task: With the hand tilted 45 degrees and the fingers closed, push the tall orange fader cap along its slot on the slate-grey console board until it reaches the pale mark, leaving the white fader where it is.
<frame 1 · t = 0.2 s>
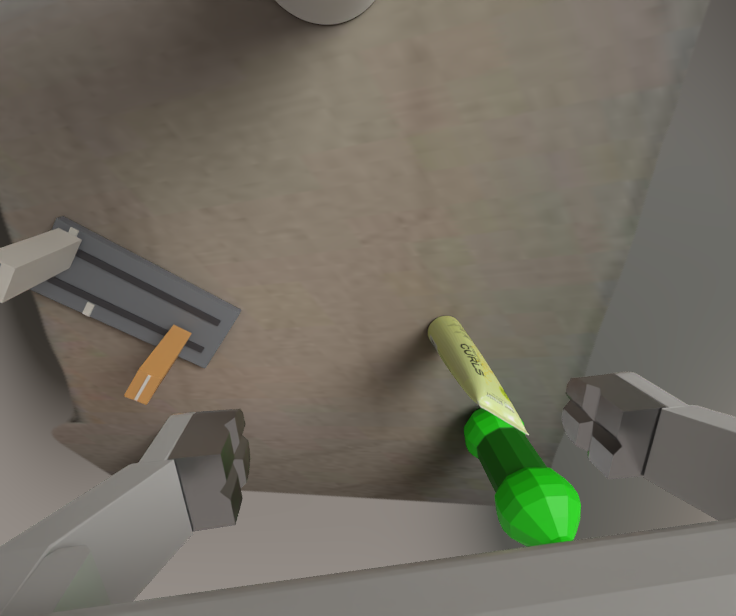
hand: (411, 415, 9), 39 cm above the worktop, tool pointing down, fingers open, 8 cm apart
tube: (443, 329, 54), on the worktop
fader orange: (161, 361, 43), point 7 cm above the worktop, slide at 0.0 cm
fader white: (32, 262, 37), point 7 cm above the worktop, slide at 0.0 cm
plastic bottle: (484, 417, 63), on the worktop
console: (143, 297, 47), on the worktop
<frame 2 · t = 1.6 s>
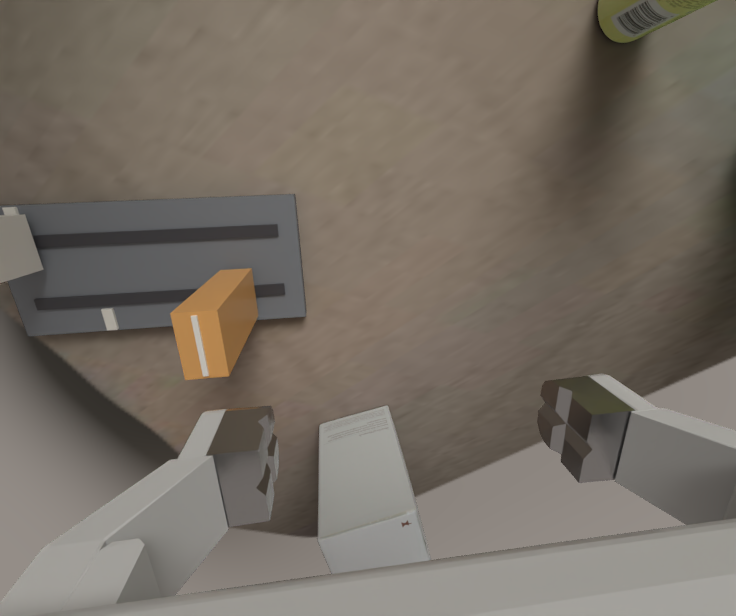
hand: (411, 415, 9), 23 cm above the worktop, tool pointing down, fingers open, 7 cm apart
tube: (626, 7, 28), on the worktop
fader orange: (223, 315, 25), point 7 cm above the worktop, slide at 0.0 cm
console: (164, 263, 30), on the worktop
supplement box: (361, 440, 38), on the worktop
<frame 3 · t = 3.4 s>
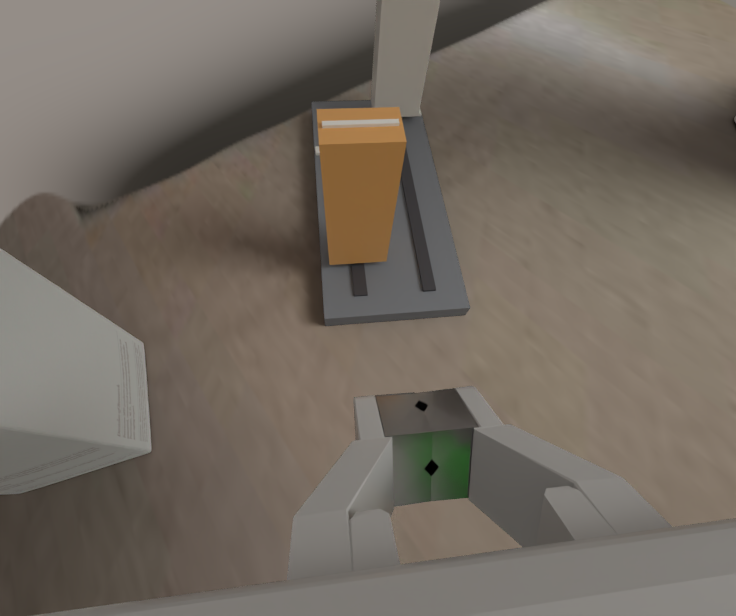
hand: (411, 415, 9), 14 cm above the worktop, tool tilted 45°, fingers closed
fader orange: (358, 199, 21), point 7 cm above the worktop, slide at 0.0 cm
fader white: (401, 47, 28), point 7 cm above the worktop, slide at 0.0 cm
console: (378, 200, 30), on the worktop
supplement box: (88, 412, 22), on the worktop
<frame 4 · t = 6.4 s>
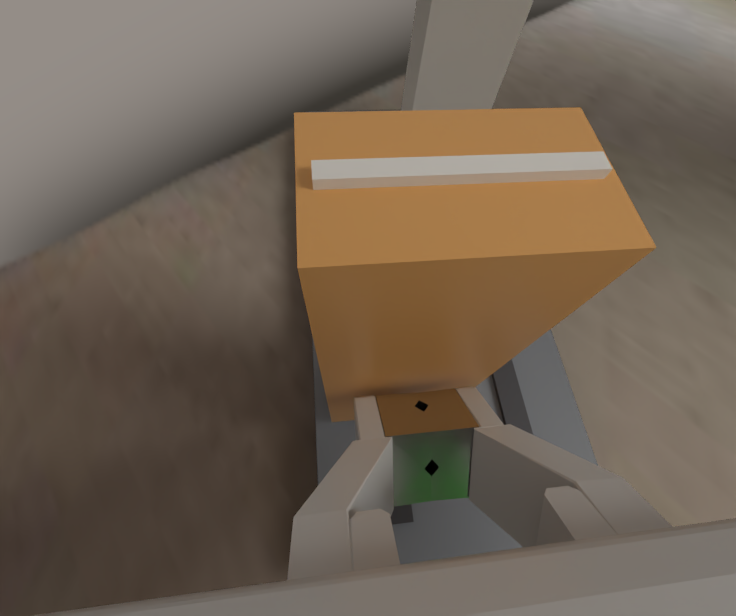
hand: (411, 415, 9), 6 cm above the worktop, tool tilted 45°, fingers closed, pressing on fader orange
fader orange: (404, 330, 9), point 7 cm above the worktop, slide at 1.0 cm, touching gripper
fader white: (467, 15, 15), point 7 cm above the worktop, slide at 0.0 cm
console: (417, 285, 17), on the worktop
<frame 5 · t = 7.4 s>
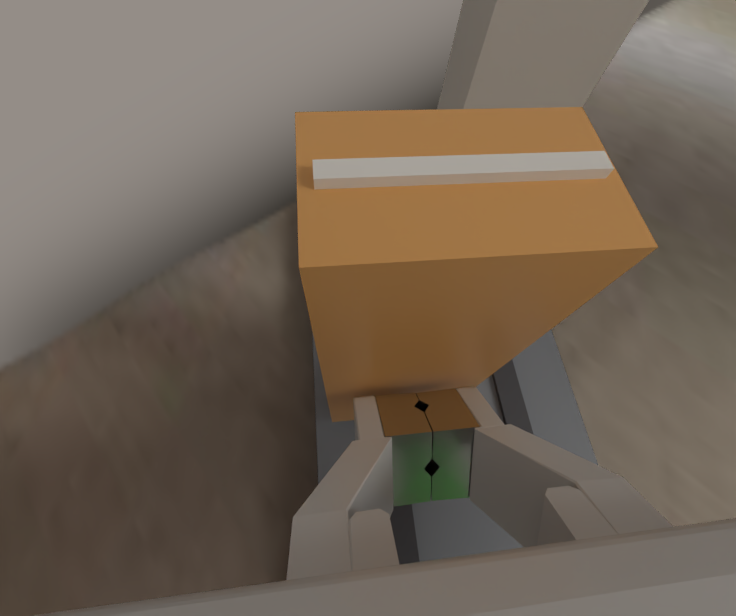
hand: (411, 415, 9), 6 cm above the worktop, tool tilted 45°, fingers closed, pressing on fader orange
fader orange: (404, 330, 9), point 7 cm above the worktop, slide at 6.8 cm, touching gripper
fader white: (504, 105, 13), point 7 cm above the worktop, slide at 0.0 cm
console: (440, 408, 15), on the worktop
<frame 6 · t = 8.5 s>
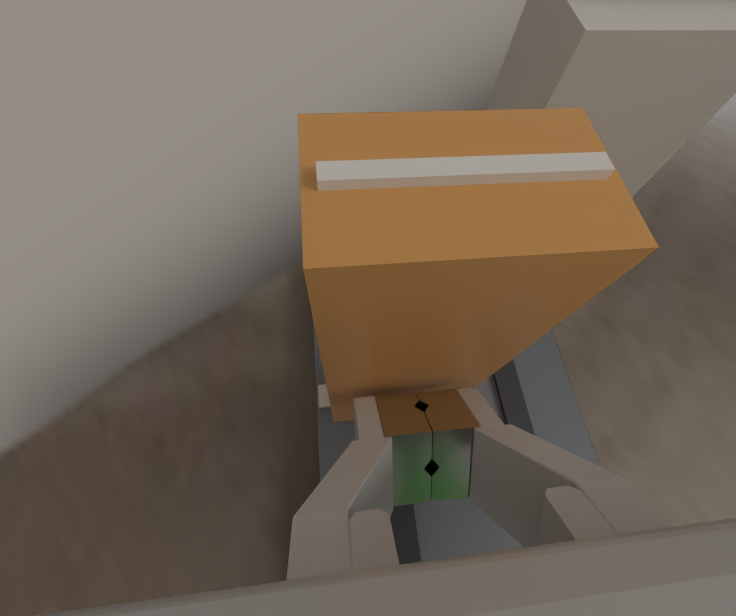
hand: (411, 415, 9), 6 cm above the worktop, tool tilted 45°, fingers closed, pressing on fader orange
fader orange: (406, 330, 9), point 7 cm above the worktop, slide at 10.7 cm, touching gripper
fader white: (538, 187, 11), point 7 cm above the worktop, slide at 0.0 cm
console: (462, 515, 13), on the worktop
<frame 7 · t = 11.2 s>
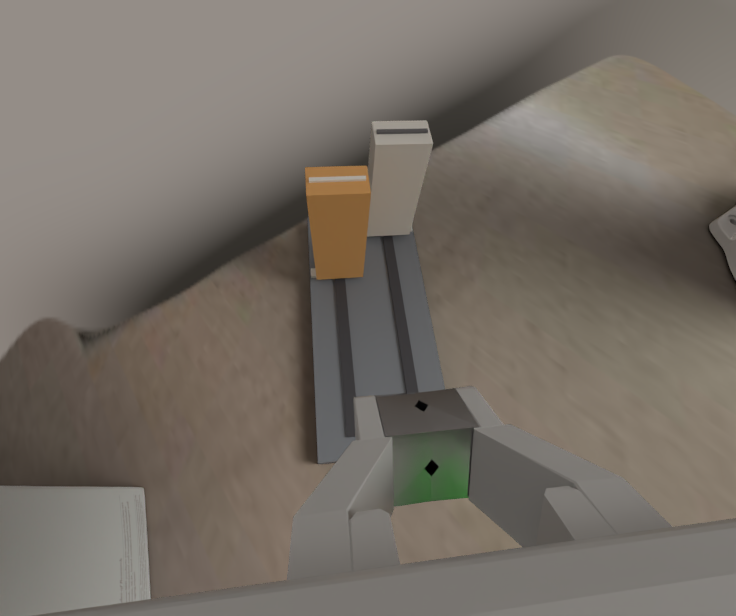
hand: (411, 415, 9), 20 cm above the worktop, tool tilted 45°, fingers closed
fader orange: (338, 229, 27), point 7 cm above the worktop, slide at 10.7 cm
fader white: (393, 185, 30), point 7 cm above the worktop, slide at 0.0 cm
console: (370, 321, 32), on the worktop
supplement box: (90, 564, 23), on the worktop
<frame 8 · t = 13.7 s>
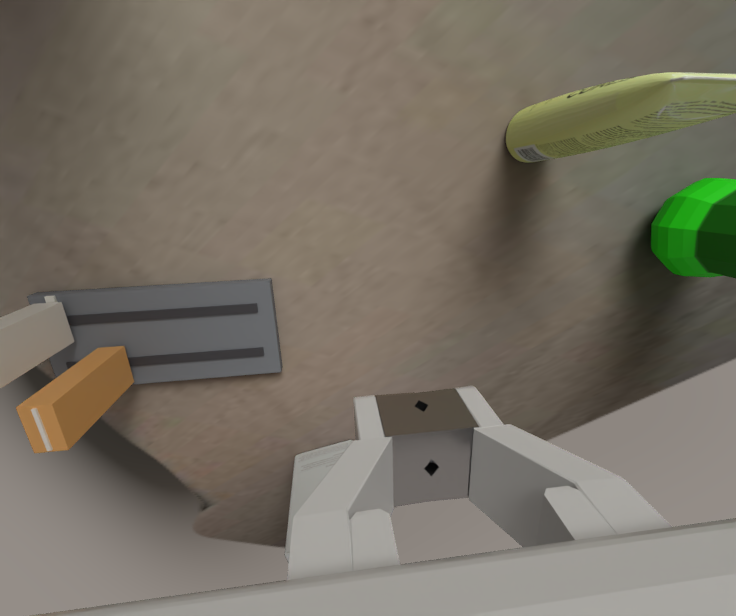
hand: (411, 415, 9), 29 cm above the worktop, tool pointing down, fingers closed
tube: (529, 135, 35), on the worktop
fader orange: (84, 392, 31), point 7 cm above the worktop, slide at 10.7 cm
fader white: (10, 345, 29), point 7 cm above the worktop, slide at 0.0 cm
plastic bottle: (671, 224, 40), on the worktop
console: (168, 332, 37), on the worktop
supplement box: (331, 467, 46), on the worktop
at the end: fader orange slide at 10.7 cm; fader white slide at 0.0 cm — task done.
